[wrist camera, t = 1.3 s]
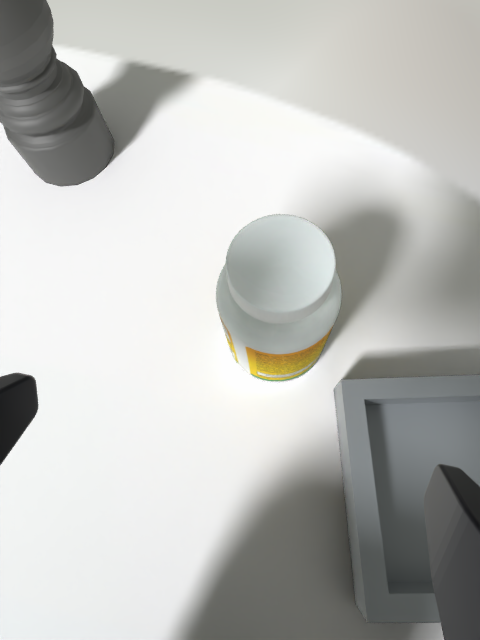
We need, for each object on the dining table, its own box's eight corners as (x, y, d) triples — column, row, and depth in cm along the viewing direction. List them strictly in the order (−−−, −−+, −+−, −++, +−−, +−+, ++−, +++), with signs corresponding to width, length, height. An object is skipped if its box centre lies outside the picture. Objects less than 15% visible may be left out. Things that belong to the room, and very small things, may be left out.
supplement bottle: (211, 343, 24) (174, 266, 15) (271, 280, 25) (271, 173, 16) (281, 405, 22) (288, 361, 13) (342, 335, 23) (386, 251, 14)
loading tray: (581, 603, 18) (626, 622, 16) (355, 603, 19) (367, 622, 17) (522, 382, 22) (553, 371, 19) (333, 389, 22) (341, 379, 20)
